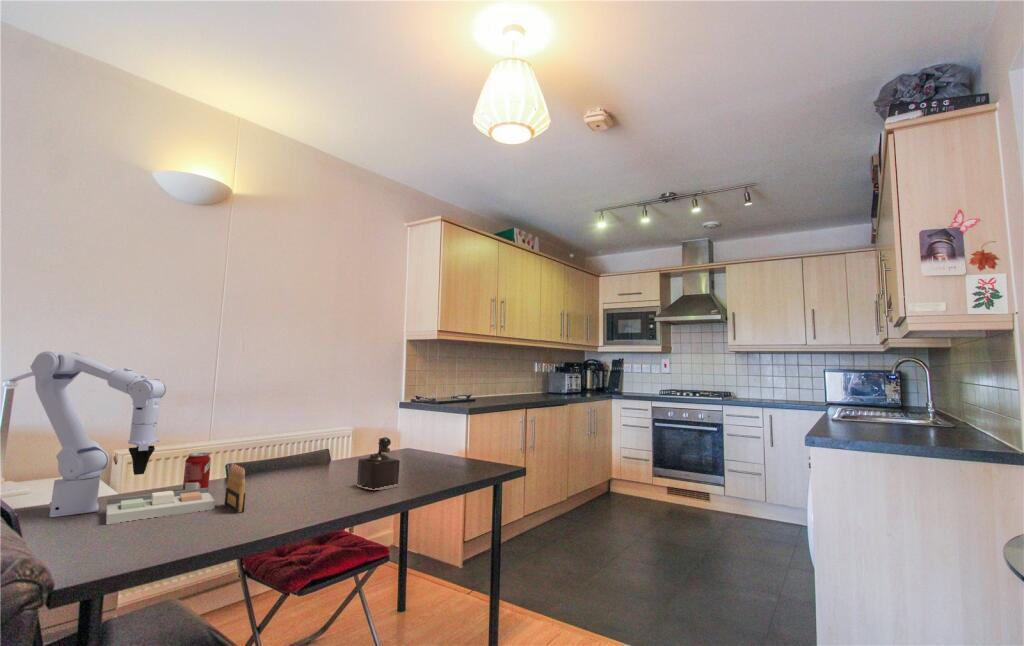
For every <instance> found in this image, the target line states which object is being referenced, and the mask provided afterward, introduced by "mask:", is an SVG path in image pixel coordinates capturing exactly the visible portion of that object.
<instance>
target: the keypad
mask: <svg viewBox="0 0 1024 646" xmlns="http://www.w3.org/2000/svg"><path fill="white" fill-rule="evenodd" d="M209 488H210V487H208V488H200V489H191V490H183V489H182V490H176V491H175V490H174V491H173V493H174V502H173V503H170V504H162V505H154V506H151V497H152V493H150V494H149V493H148V494H141V495H131V496H124V497H123V496H122V497H115V498H114V497H113V498H107V500H106V509H105V524H106V525H113V524H121V523H120V522H122V523H127V522H126V521H129V522H133V521H132V520H136V521H139V520H138V519H143V520H148V519H147V518H151V519H155V518H154V517H158V518H163V516H165V517H170V515H172V516H178V515H185V514H191V513H198V511H200V512H205V510H207V511H212V509H214V510H215V504H216V500H215V499H214V498H213V496H212V495H211V494H210V493H209ZM191 492H200V493H201V494H202V499H201V500H193V501H185V502H180V494H183V493H191ZM140 498H143V501H144V506H143V507H138V508H130V509H122V510H120V504H121V501H123V500H132V499H140Z"/></svg>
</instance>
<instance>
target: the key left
mask: <svg viewBox="0 0 1024 646" xmlns="http://www.w3.org/2000/svg"><path fill="white" fill-rule="evenodd" d="M143 506H144V501H143V498H140V499H132V500H123V501H121V504H120V510H122V509H130V508H138V507H143Z"/></svg>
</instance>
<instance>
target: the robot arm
mask: <svg viewBox="0 0 1024 646" xmlns="http://www.w3.org/2000/svg"><path fill="white" fill-rule="evenodd" d="M30 369H31V372H32V374H33V376H34V381H35V383H34V384H35V392H36V394H37V396H38V399H39V400H40V402H41V405H42V406H43V409H44V412H45V414H46V416H47V417H48V419H49V422H50V424H51V427H52V429H53V430H54V433H55V434H56V437H57V439H58V441H59V443H60V445H61V447H62V448H61V449H60V451H59V452H58V453H57V454H56V456H55V458H56V459H57V461H58V462H57V463H58V464H57V465H58V467H57V468H58V470H57V471H58V473H59V475H60V476H61V477H62V478H59V479H55V480H54V481H53V486H52V487H53V489H52V494H51V495H52V496H51V501H50V502H49V506H48V507H49V508H48V510H50V511H49V516H48V517H49V518H57V517H63V516H64V517H65V516H73V515H79V514H87V513H96V512H99V510H100V509H99V508H100V507H99V506H100V505H99V504H100V503H98V500H99V499H98V497H99V490H100V481H101V475H103V471H104V470H106V468H107V467H108V466H109V463H110V455H109V453H108V452H106V450H104V449H103V448H102V447H101V445H100V444H99V443H98V441H95V440H92V439H91V438H89V435H87V432H86V430H85V428H84V426H83V424H82V421H81V419H80V417H79V415H78V413H77V411H76V409H75V407H74V405H73V402H72V401H71V399H70V396H69V394H68V392H67V390H66V389H67V387H68V385H70V384H71V383H72V382H73V381H74V380H75V379H76V378H77V377H78V376H79V375H80V374H81V372H82V373H85V374H87V375H90V376H94V377H97V378H99V379H102V380H104V381H106V382H107V385H108V387H110V388H112V389H115V390H118V391H120V392H121V393H124V394H127V395H129V396H130V398H131V400H132V405H133V407H132V416H131V424H130V433H129V439H128V442H127V443H128V444H129V445H133V446H136V447H128V452H129V454H130V457H131V460H132V470H133V475H134V476H137V475H144V474H145V472H146V469H147V467H148V463H149V460H150V458H151V456H152V454H153V453H154V452H155V450H156V448H155V445H152V444H155V443H160V442H161V441H162V439H161V438H157V432H158V431H157V430H158V421H159V414H160V413H159V412H160V405H161V404H160V403H161V399H162V398H163V397H164V396H165V395H166V393H167V387H166V384H165V383H164V381H161V380H160V379H159V378H153V379H150V378H149V376H148V375H146V374H140V373H138V372H137V373H136V372H134V370H133V368H131V367H124V368H123V367H121V368H117V369H115V368H113V367H110V366H108V365H106V364H104V363H102V362H99V361H97V360H96V359H93V358H91V357H90V356H88V355H85V354H82V353H79V352H60V351H59V352H56V351H48V350H47V351H42V352H40V353H38V354H37V355H36V356H35V358H34V360H33V361H32V363H31V365H30Z"/></svg>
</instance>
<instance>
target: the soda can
mask: <svg viewBox="0 0 1024 646" xmlns="http://www.w3.org/2000/svg"><path fill="white" fill-rule="evenodd" d="M211 464H212V458H211V457H210V453H209V452H192V453H188V456H187V458H186V460H185V462H184V473H183V480H182V481H183V482H182V491H183V490H191V489H200V488H209V484H210V475H211Z"/></svg>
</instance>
